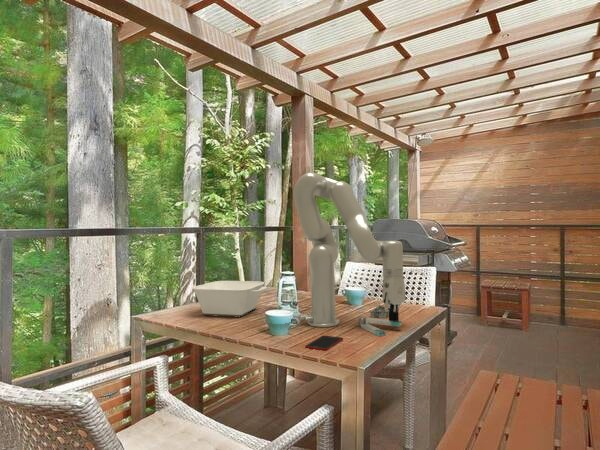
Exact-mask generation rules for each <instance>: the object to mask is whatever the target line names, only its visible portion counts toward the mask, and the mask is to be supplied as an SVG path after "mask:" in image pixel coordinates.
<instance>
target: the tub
mask: <svg viewBox="0 0 600 450" xmlns="http://www.w3.org/2000/svg"><path fill="white" fill-rule="evenodd" d="M264 285H265V282H264V281H257V280H255V281H254V280H217V281H216V280H215V281H211V282H207V283H204V284H199V285H195V286H193V288H192V291H194V293H195V296H196V299H197V301H198V304H199V306H200V309H201V311H202V312H201V313H202V314H203V316H205V315H218V316H238V317H237V318H240V317H239V316H241V317H243V316H245V315H247V314H249V313H251V312H253V311H255V310H256V309H257V307H258V303H259V300H260V299H261V294H262V293H263V292H265V291H267V289H268V287H267V286H264ZM254 309H255V310H254ZM252 310H253V311H252ZM250 311H251V312H250ZM248 312H249V313H248Z"/></svg>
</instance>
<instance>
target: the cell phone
mask: <svg viewBox="0 0 600 450" xmlns="http://www.w3.org/2000/svg"><path fill="white" fill-rule="evenodd" d="M343 340H344V338H343V337H340V336H334V335H333V336H331V335H321V336H319V337H318V338H316V339H314V340H312V341H311V342H310V343H307V344H306V345H305V346H304V348H305V349H306V348H309V349H308V350H313V349H315V350H314V351H320V350H322V351H321V352H327V351H329V350H330V349H332V348H333V347H335V346H336V345H338V344H340V343H341V342H343Z"/></svg>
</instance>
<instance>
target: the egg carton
mask: <svg viewBox="0 0 600 450" xmlns="http://www.w3.org/2000/svg"><path fill="white" fill-rule="evenodd" d="M369 313H370V318H377V319H386V318H389V311H388V308H385V305H381V304H378V305H376V306H375V307H374V308H373V309H371V310H369Z"/></svg>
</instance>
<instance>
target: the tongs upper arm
mask: <svg viewBox="0 0 600 450" xmlns="http://www.w3.org/2000/svg"><path fill="white" fill-rule="evenodd" d="M402 322H403V321H402V320H399V321H396V320H389V319H386V318H377V317H374V318H373V317H367V318H366V323H368V324H371V325H372V324H374V325H383V326H389V327H390V326H391V327H399V328H400V327H401V326H403V325H402Z"/></svg>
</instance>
